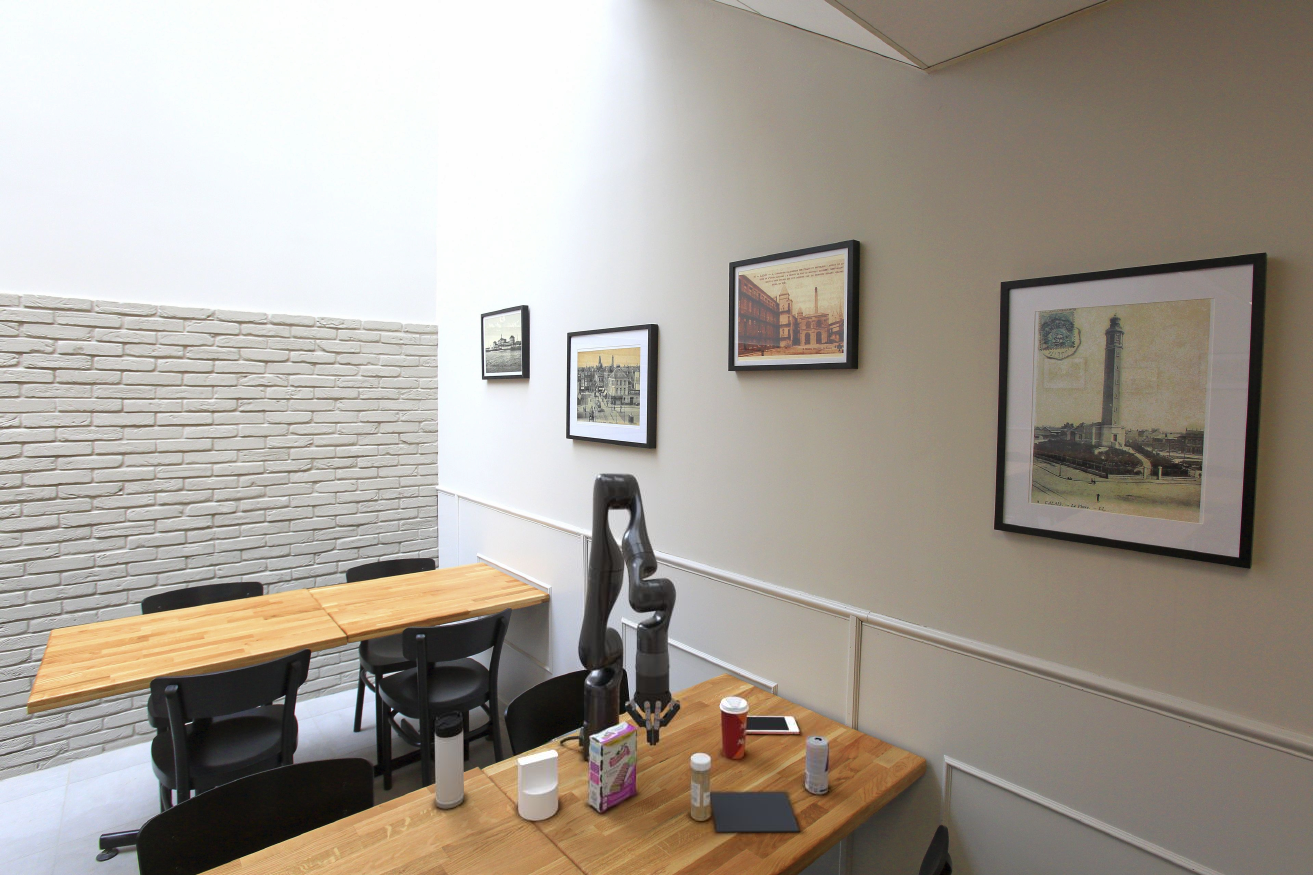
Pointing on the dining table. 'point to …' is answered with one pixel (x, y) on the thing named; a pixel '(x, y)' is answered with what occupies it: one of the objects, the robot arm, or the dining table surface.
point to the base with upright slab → (538, 785)
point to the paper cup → (733, 726)
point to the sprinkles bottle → (700, 786)
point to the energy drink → (817, 764)
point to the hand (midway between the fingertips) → (652, 743)
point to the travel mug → (449, 760)
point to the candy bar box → (612, 766)
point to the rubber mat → (752, 812)
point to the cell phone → (771, 725)
